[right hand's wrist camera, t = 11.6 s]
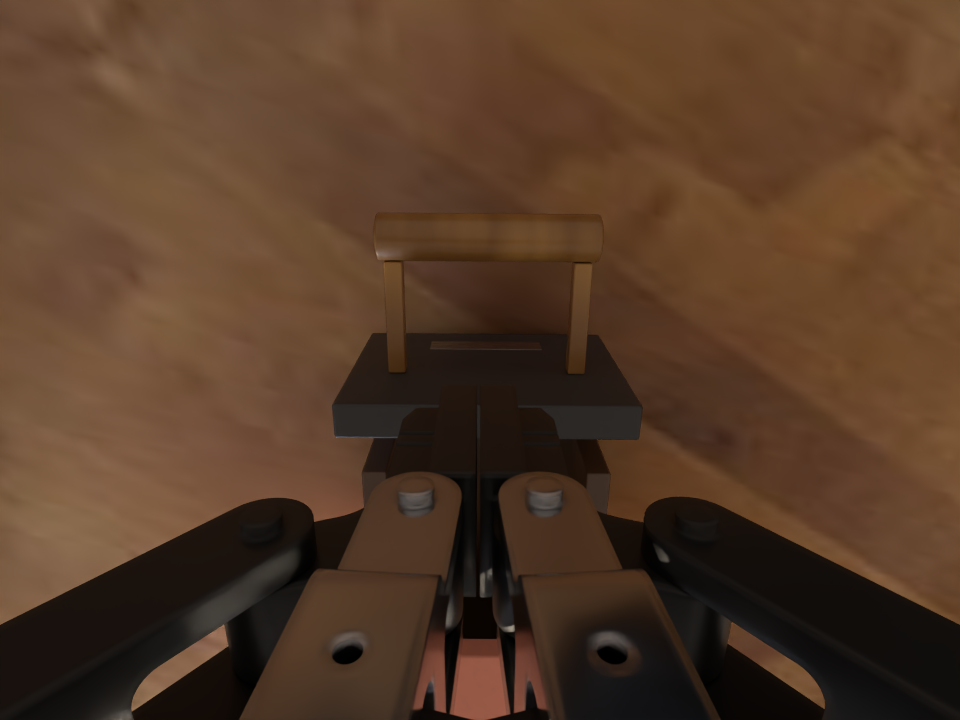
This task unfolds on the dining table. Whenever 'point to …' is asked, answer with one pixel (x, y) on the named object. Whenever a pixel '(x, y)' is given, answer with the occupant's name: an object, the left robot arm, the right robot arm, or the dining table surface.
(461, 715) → the cabinet
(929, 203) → the dining table surface
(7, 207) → the dining table surface
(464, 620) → the drawer
